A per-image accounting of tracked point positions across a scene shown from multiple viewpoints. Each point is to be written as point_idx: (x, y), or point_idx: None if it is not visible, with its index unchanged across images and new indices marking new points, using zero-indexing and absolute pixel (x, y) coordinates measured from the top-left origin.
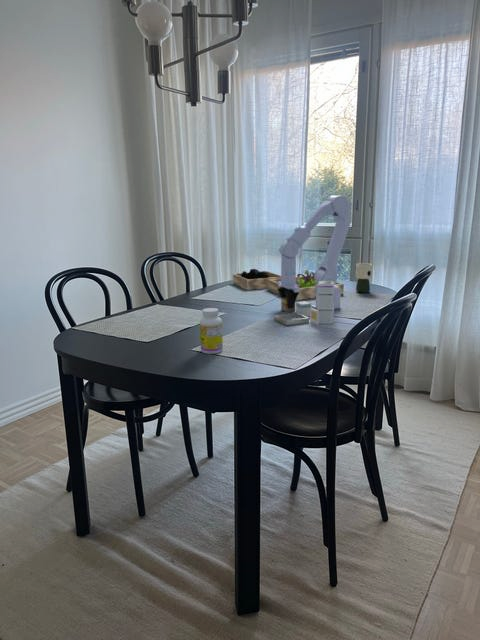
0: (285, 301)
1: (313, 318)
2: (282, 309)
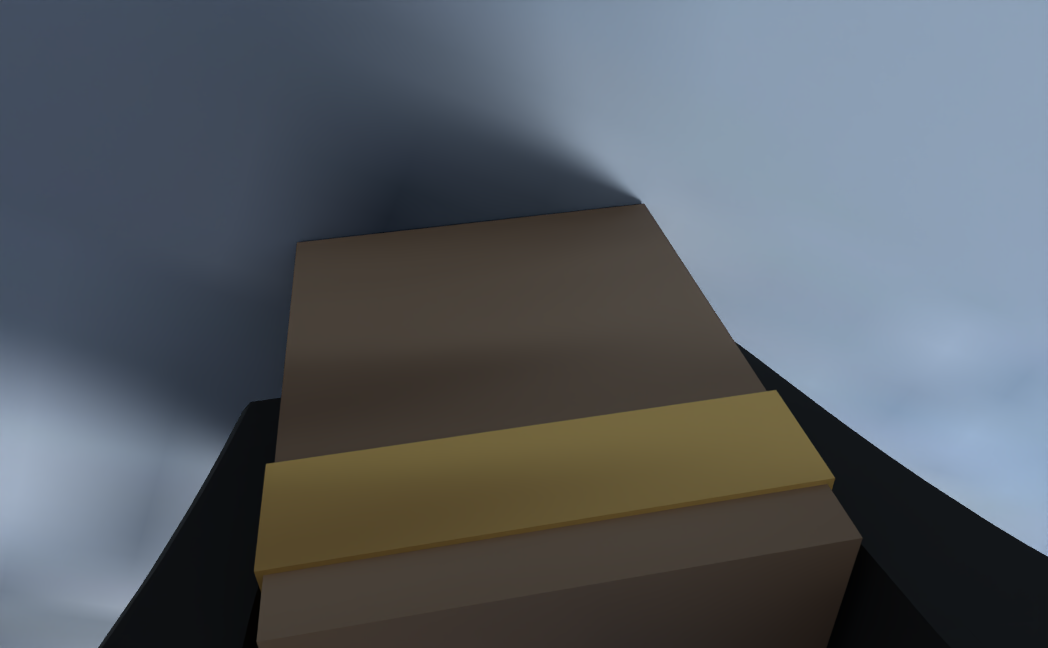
0: (325, 520)
1: None
2: (564, 226)
